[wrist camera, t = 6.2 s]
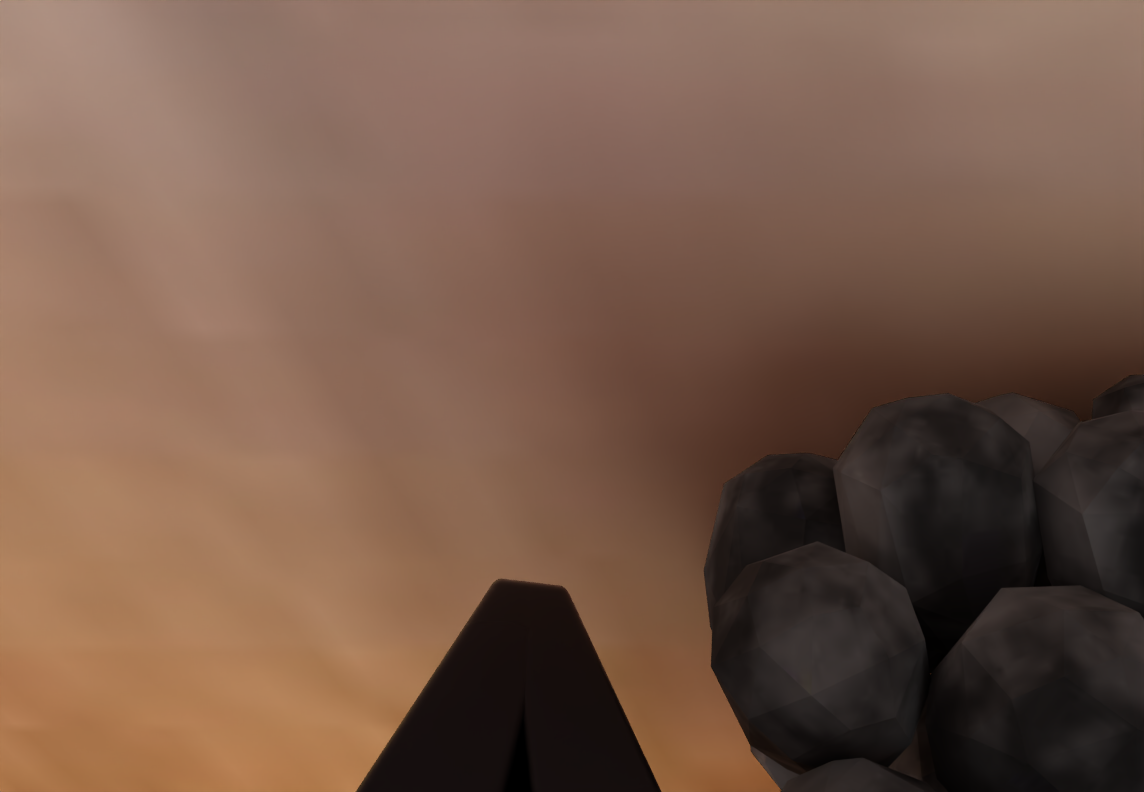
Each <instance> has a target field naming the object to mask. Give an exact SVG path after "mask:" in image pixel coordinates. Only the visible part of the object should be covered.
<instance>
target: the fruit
mask: <svg viewBox="0 0 1144 792" xmlns="http://www.w3.org/2000/svg"><path fill="white" fill-rule="evenodd" d="M704 576H705V585H706V594H707V603H708V611H709V620H710V627H711V629H712V654H711V667H712V669H713V671H714V673H715V675H716V677H717V679H718V682H719V684H720V686H721V688H722V690H723V692H724V694H725V696H726V698H727V700H728V702H729V704H730V706H731V708H732V710H733V712H734V714H735V716H736V718H737V720H738V722H739V724H740V726H741V728H742V730H743V732H744V734H745V736H746V738H747V740H748V742H749V744H750V746H751V752H752V754H753V755H754V756H755V757H756V759H757V760H758V761H759V762H760V764H761V765H762V766H763V768H764V769H765V770H766V771H767V773H768V774H769V775H770V776H771V778H772V779H773V780H774V781H775V783H776V784H777V785H778V787H779V788H780V789H781V792H1144V375H1129V376H1128V377H1126V378H1125V379H1123V380H1122V381H1120V382H1119V383H1117V384H1116V385H1114V386H1113V387H1111V388H1110V389H1108V390H1107V391H1105V392H1104V393H1102V394H1101V395H1099V396H1098V397H1096V398H1095V399H1093V410H1092V420H1087V421H1083V422H1081V421H1080V420H1079V418H1078V417H1077V416H1076V414H1075V413H1074V411H1071V410H1068V409H1065V408H1061V407H1058V406H1055V405H1052V404H1048V403H1045V402H1042V401H1039V400H1035V399H1032V398H1029V397H1026V396H1022V395H1019V394H1016V393H1013V392H1012V393H1008V394H1003V395H999V396H996V397H992V398H989V399H986V400H983V401H980V402H976V403H973V402H970V401H968V400H965V399H962V398H960V397H957V396H954V395H952V394H949V393H947V394H938V395H929V396H920V397H912V398H906V399H902V400H899V401H895V402H892V403H888V404H885V405H881V406H878V407H874V408H872V409H871V410H870V412H869V413H868V415H867V416H866V418H865V420H864V421H863V423H862V424H861V426H860V427H859V429H858V430H857V432H856V433H855V435H854V436H853V438H852V439H851V441H850V442H849V444H848V445H847V447H846V449H845V450H844V452H843V453H842V455H841V456H840V458H839V459H838V461H837V460H835V459H831V458H827V457H823V456H819V455H815V454H810V453H796V454H779V455H767V456H766V457H764V458H763V459H761V460H760V461H758V462H756V463H755V464H753V465H752V466H750V467H749V468H747V469H746V470H744V471H743V472H741V473H740V474H738V475H737V476H735V477H733V478H732V479H730V480H729V481H727V482H726V483H724V486H723V490H722V494H721V498H720V503H719V507H718V511H717V516H716V520H715V524H714V528H713V533H712V537H711V541H710V546H709V550H708V554H707V558H706V563H705V567H704ZM930 673H931V674H930Z"/></svg>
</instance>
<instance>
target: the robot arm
mask: <svg viewBox="0 0 1144 792" xmlns="http://www.w3.org/2000/svg"><path fill="white" fill-rule="evenodd" d="M356 792H661V790H660V788H659V786H658V784H657V781H656V779H655V777H654V775H653V773H652V771H651V769H650V766H649V764H648V762H647V760H646V758H645V756H644V754H643V751H642V749H641V747H640V745H639V743H638V741H637V738H636V736H635V734H634V732H633V730H632V728H631V726H630V723H629V721H628V719H627V717H626V715H625V713H624V711H623V708H622V706H621V704H620V702H619V700H618V698H617V696H616V693H615V691H614V689H613V687H612V685H611V683H610V681H609V678H608V676H607V674H606V672H605V670H604V668H603V665H602V663H601V661H600V659H599V657H598V655H597V653H596V650H595V648H594V646H593V644H592V642H591V640H590V638H589V635H588V633H587V631H586V629H585V627H584V625H583V623H582V620H581V618H580V616H579V614H578V612H577V610H576V608H575V605H574V603H573V601H572V599H571V597H570V595H569V593H568V591H567V590H566V589H565V588H564V587H562V586H559V585H551V584H543V583H534V582H526V581H517V580H509V579H498V580H496V581H495V582H494V583H493V584H492V585H491V587H490V588H489V590H488V591H487V593H486V594H485V596H484V597H483V599H482V601H481V602H480V604H479V605H478V607H477V608H476V610H475V611H474V613H473V614H472V616H471V617H470V619H469V620H468V622H467V623H466V625H465V626H464V628H463V629H462V631H461V632H460V634H459V635H458V637H457V639H456V640H455V642H454V643H453V645H452V646H451V648H450V649H449V651H448V652H447V654H446V655H445V657H444V658H443V660H442V661H441V663H440V664H439V666H438V667H437V669H436V670H435V672H434V674H433V675H432V677H431V678H430V680H429V681H428V683H427V684H426V686H425V687H424V689H423V690H422V692H421V693H420V695H419V696H418V698H417V699H416V701H415V702H414V704H413V705H412V707H411V708H410V710H409V712H408V713H407V715H406V716H405V718H404V719H403V721H402V722H401V724H400V725H399V727H398V728H397V730H396V731H395V733H394V734H393V736H392V737H391V739H390V740H389V742H388V743H387V745H386V747H385V748H384V750H383V751H382V753H381V754H380V756H379V757H378V759H377V760H376V762H375V763H374V765H373V766H372V768H371V769H370V771H369V772H368V774H367V775H366V777H365V778H364V780H363V781H362V783H361V785H360V786H359V788H358V789H357V791H356Z"/></svg>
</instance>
